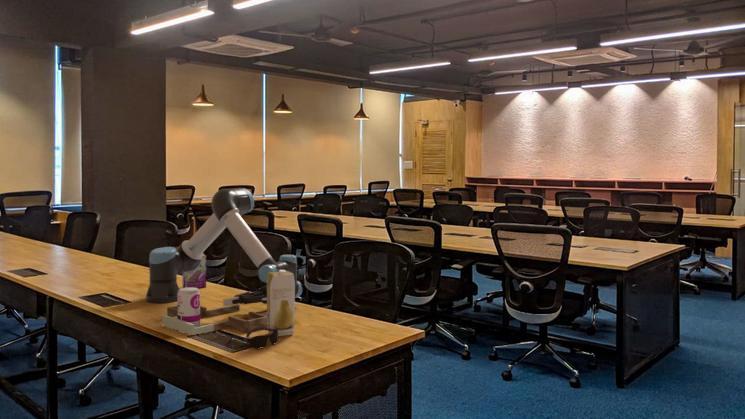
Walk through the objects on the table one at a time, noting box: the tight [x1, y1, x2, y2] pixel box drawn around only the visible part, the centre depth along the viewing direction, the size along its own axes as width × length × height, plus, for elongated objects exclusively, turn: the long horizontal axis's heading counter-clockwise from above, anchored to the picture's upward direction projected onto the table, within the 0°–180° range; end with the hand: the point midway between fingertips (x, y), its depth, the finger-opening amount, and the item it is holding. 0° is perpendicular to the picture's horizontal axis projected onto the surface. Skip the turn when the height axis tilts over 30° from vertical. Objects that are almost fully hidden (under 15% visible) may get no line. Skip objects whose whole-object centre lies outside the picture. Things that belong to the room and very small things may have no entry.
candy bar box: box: [181, 254, 207, 289], centre depth 304 cm, size 11×5×16 cm, turn 115°
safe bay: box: [161, 314, 215, 336], centre depth 229 cm, size 9×20×4 cm, turn 49°
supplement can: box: [176, 287, 201, 327], centre depth 229 cm, size 8×8×15 cm
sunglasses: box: [229, 328, 279, 349], centre depth 212 cm, size 14×16×5 cm
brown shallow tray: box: [166, 303, 267, 333], centre depth 242 cm, size 27×41×4 cm, turn 49°
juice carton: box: [266, 270, 296, 337], centre depth 222 cm, size 9×8×24 cm
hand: (224, 302), depth 241 cm, fingers closed
